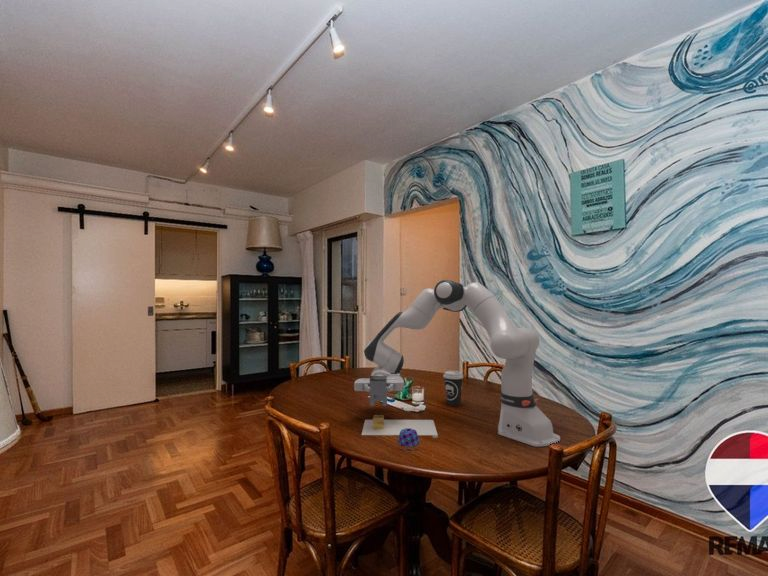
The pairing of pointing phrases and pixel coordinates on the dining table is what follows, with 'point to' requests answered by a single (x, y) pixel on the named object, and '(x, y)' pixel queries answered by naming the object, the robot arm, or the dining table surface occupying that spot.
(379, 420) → the block
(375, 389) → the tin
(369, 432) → the placemat
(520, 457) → the dining table surface
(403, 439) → the pudding
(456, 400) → the coffee cup
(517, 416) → the robot arm
